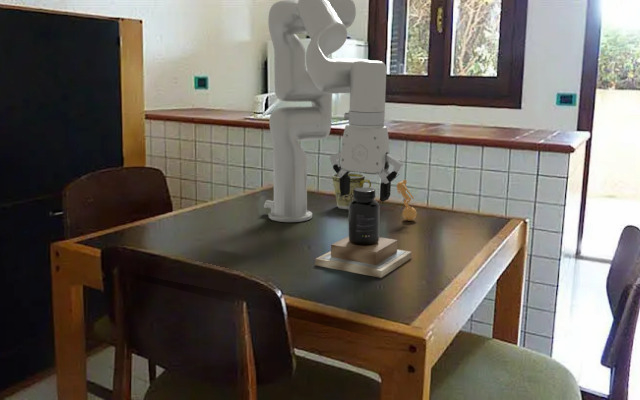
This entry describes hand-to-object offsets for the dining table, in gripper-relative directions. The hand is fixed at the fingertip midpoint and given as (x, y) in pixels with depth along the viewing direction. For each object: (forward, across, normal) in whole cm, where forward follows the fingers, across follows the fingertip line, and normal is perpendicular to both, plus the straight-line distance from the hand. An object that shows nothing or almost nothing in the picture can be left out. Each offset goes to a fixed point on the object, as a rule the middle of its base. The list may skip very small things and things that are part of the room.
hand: (364, 197), depth 138 cm
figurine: (+16, -6, +40) cm, 43 cm away
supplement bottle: (+10, 0, 0) cm, 10 cm away
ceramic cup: (+16, -27, +46) cm, 56 cm away
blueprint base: (+15, +1, 0) cm, 15 cm away
